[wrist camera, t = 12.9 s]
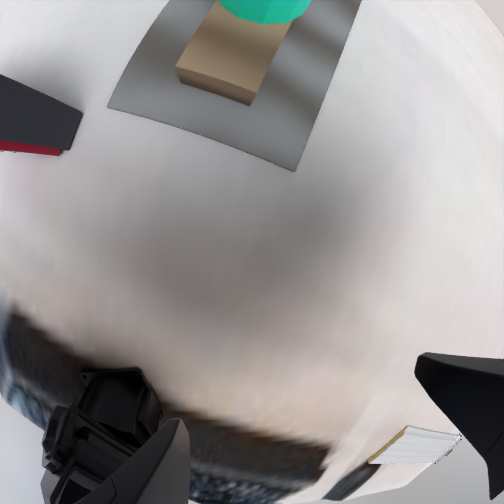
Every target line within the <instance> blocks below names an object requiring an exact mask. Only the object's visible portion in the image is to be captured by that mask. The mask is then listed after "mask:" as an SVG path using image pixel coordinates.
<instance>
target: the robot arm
mask: <svg viewBox="0 0 504 504" xmlns="http://www.w3.org/2000/svg"><path fill="white" fill-rule="evenodd" d="M135 373H137V374H138V375H137V374H135ZM414 373H415V377H416V378H417V380H418V381H419V382H420V384H421V385H422V387H423V388H424V389H425V391H426V392H427V394H428V395H429V397H430V398H431V399H432V400H433V402H434V403H435V404H436V405H437V406H438V407H439V408H440V409H441V410H442V412H443V413H444V414H445V415H446V416H447V417H448V418H449V419H450V421H451V422H452V423H453V424H454V425H455V426H456V427H457V428H458V430H459V431H460V432H461V433H462V434H463V435H464V436H465V438H466V439H467V440H468V441H469V442H470V443H471V444H472V446H473V447H474V448H475V449H476V450H477V452H478V453H479V454H480V455H481V456H482V457H483V458H484V460H485V462H486V464H487V468H488V476H489V477H488V478H489V494H490V500H493V499H494V498H495V497H496V496H497V495H498V494H500V493H501V492H502V491H503V490H504V359H503V360H502V359H495V358H480V357H467V356H457V355H447V354H438V353H430V352H425V353H423V354H421V355H419V356H418V358H417V362H416V366H415V371H414ZM80 377H81V379H82V381H83V383H84V384H85V386H86V390H85V392H84V394H83V396H82V398H81V400H80V402H79V404H78V406H77V405H75V404H74V403H73V404H72V405H71V406H70V407H69V408H66V407H61V406H58V405H57V406H56V407H55V408H54V410H53V412H52V414H51V416H50V418H49V420H48V422H47V425H46V428H45V431H44V435H43V440H42V446H43V458H42V466H43V467H44V468H46V471H45V474H44V476H43V478H42V481H41V489H42V494H43V498H44V502H45V504H188V497H189V485H190V473H191V463H190V443H189V434H188V431H187V429H186V427H185V425H184V423H183V421H182V420H181V419H180V418H174V419H169V420H168V421H167V422H166V423H165V424H164V425H163V426H162V427H161V428H160V429H159V430H158V424H159V420H162V418H163V414H162V412H161V406H160V404H159V402H158V400H157V398H156V396H155V394H154V392H153V390H152V389H151V388H149V386H148V384H147V381H146V379H145V377H144V375H143V373H142V371H141V370H140V369H138V368H126V369H106V370H82V371H81V373H80Z"/></svg>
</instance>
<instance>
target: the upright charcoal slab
mask: <svg viewBox="0 0 504 504" xmlns="http://www.w3.org/2000/svg"><path fill="white" fill-rule="evenodd" d="M81 116H82V112H81V111H79V110H77V109H74V108H72V107H70V106H68V105H66V104H64V103H62V102H60V101H58V100H56V99H54V98H52V97H50V96H47V95H45V94H43V93H41V92H39V91H37V90H35V89H32V88H30V87H28V86H26V85H24V84H21V83H19V82H17V81H14V80H12V79H10V78H8V77H5V76H3V75H1V74H0V152H3V151H10V152H13V153H16V152H26V153H36V154H45V155H54V156H59V154H60V151H61V149H63V150H69V148H70V145H71V142H72V140H73V137H74V134H75V131H76V129H77V126H78V124H79V121H80V119H81Z"/></svg>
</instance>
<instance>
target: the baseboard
mask: <svg viewBox="0 0 504 504" xmlns="http://www.w3.org/2000/svg"><path fill="white" fill-rule="evenodd" d="M458 435H460V433H459V434H458ZM458 435H454V434H448V433H442V432H437V431H432V430H427V429H422V428H417V427H413V426H408V425H407V426H406V427H405V428H404V429H403V430H402V431H400V432H399V433H398V434H397V435H396V436H395V437H394V438H393V439H392V440H390V441H389V442H388V443H387V444H386V445H385V446H384V447H382V448H381V449H380V450H379V451H378V452H376V453H375V454H374V455H373V456H371V457H370V458H369V459H368V460H367V461H368V463H370V464H413V463H429V462H434V461H435V460H437V459H438V458H439V457H440V456H441V455H442V454H443V453H444V452H445V451H446V450H447V449H448V448H450V446H451V445H452V444H453V443H455V442H456V439H457V437H458ZM460 436H461V437H462V435H460ZM460 440H461V439H460ZM450 452H451V451H450ZM435 464H436V463H435Z"/></svg>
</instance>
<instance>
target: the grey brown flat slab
mask: <svg viewBox="0 0 504 504" xmlns="http://www.w3.org/2000/svg"><path fill="white" fill-rule="evenodd" d="M361 1H362V0H312V1H311V2H310V4H309V5H308V7H307V8H306V10H305V11H304V13H303V15H301V16H299V17H297V18H295V19H293V20H291V21H289V22H288V23H278V24H259V23H256V22H252V21H248V20H245V19H241V18H238V17H236V16H235V15H234V14H232V13H231V12H230V11H228V10H227V9H226V8H224V7H223V6H222V5H221V2H220V0H170V1H169V2H168V3H167V5H166V6H165V7H164V9H163V10H162V11H161V13H160V14H159V15H158V17H157V18H156V20H155V21H154V23H153V24H152V26H151V27H150V29H149V30H148V32H147V33H146V35H145V36H144V38H143V39H142V41H141V43H140V44H139V46H138V47H137V49H136V51H135V52H134V54H133V56H132V58H131V59H130V61H129V63H128V65H127V67H126V68H125V70H124V72H123V74H122V76H121V78H120V80H119V82H118V84H117V86H116V88H115V90H114V92H113V94H112V96H111V98H110V100H109V102H108V105H107V107H108V108H111V109H115V110H119V111H123V112H127V113H131V114H134V115H138V116H142V117H145V118H149V119H152V120H155V121H159V122H162V123H165V124H169V125H172V126H175V127H178V128H181V129H184V130H187V131H190V132H193V133H196V134H199V135H202V136H205V137H208V138H210V139H213V140H216V141H219V142H221V143H224V144H227V145H229V146H232V147H235V148H237V149H240V150H242V151H245V152H247V153H250V154H252V155H255V156H257V157H260V158H262V159H265V160H267V161H269V162H272V163H274V164H276V165H279V166H281V167H283V168H286V169H288V170H290V171H292V172H295V171H296V168H297V166H298V163H299V161H300V158H301V156H302V153H303V151H304V148H305V146H306V143H307V141H308V138H309V136H310V133H311V130H312V128H313V125H314V123H315V120H316V118H317V115H318V113H319V110H320V108H321V105H322V102H323V100H324V97H325V95H326V92H327V90H328V87H329V85H330V82H331V79H332V77H333V74H334V72H335V69H336V66H337V64H338V61H339V59H340V56H341V53H342V51H343V48H344V46H345V43H346V40H347V38H348V35H349V32H350V30H351V27H352V25H353V22H354V19H355V17H356V14H357V11H358V9H359V6H360V3H361Z"/></svg>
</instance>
